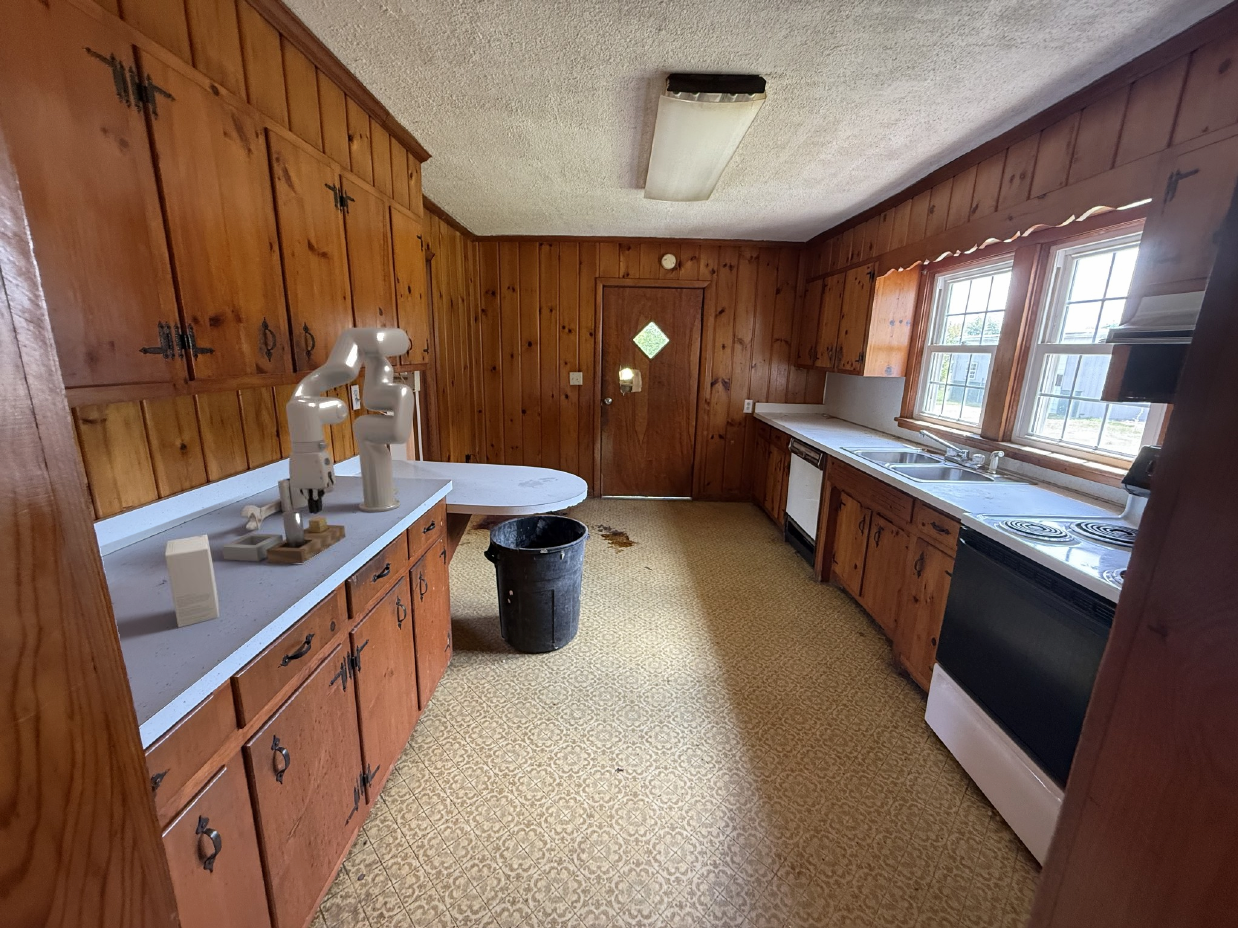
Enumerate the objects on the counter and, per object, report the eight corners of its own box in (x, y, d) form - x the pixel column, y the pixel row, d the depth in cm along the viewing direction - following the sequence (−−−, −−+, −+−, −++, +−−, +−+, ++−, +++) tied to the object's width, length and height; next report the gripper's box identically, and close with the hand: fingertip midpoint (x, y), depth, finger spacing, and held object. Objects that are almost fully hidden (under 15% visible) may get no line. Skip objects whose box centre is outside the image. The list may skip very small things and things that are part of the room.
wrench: (290, 512, 166) (250, 535, 137) (283, 513, 165) (242, 535, 136) (287, 489, 164) (247, 507, 136) (281, 490, 164) (240, 508, 135)
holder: (252, 545, 132) (250, 533, 131) (284, 546, 131) (282, 534, 130) (224, 559, 123) (222, 546, 122) (258, 560, 123) (256, 548, 122)
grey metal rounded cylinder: (295, 552, 128) (289, 509, 125) (310, 553, 128) (304, 510, 125) (284, 558, 124) (278, 514, 121) (299, 559, 124) (293, 515, 121)
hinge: (288, 515, 155) (284, 485, 153) (272, 514, 155) (267, 484, 153) (317, 501, 169) (313, 473, 166) (302, 501, 169) (298, 473, 167)
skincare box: (179, 610, 100) (165, 540, 96) (220, 600, 104) (208, 533, 100) (177, 629, 93) (162, 554, 90) (221, 618, 97) (208, 546, 94)
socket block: (315, 535, 139) (313, 524, 139) (345, 536, 139) (344, 525, 138) (268, 562, 122) (266, 549, 121) (302, 564, 122) (300, 551, 121)
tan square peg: (317, 533, 136) (315, 516, 135) (328, 533, 136) (326, 517, 135) (310, 537, 133) (308, 520, 132) (321, 537, 133) (319, 520, 132)
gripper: (344, 445, 132) (350, 509, 136) (291, 443, 132) (299, 506, 137) (326, 450, 124) (334, 517, 129) (270, 448, 125) (279, 515, 129)
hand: (316, 511), depth 133 cm, fingers closed
